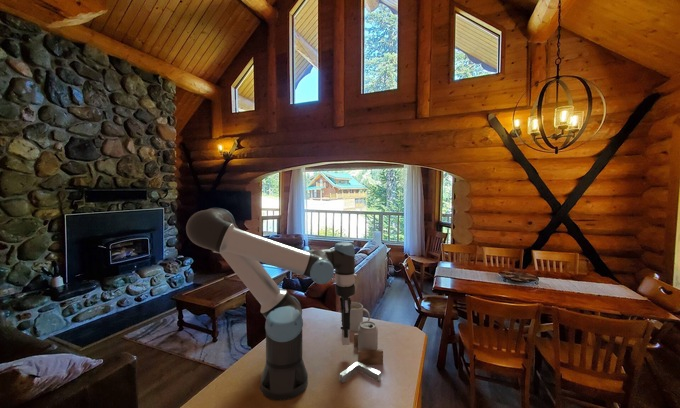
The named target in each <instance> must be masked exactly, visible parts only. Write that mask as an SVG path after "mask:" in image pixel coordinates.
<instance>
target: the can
mask: <svg viewBox="0 0 680 408" xmlns="http://www.w3.org/2000/svg"><path fill="white" fill-rule="evenodd" d="M378 330H379V329H378V327H377V323H375V322H374V321H370V320H369V321H368V320H363V322H361V323H360V326H359V327H358V331H357V333H358V347H357V351H358V350H378V334H379V331H378Z"/></svg>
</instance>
